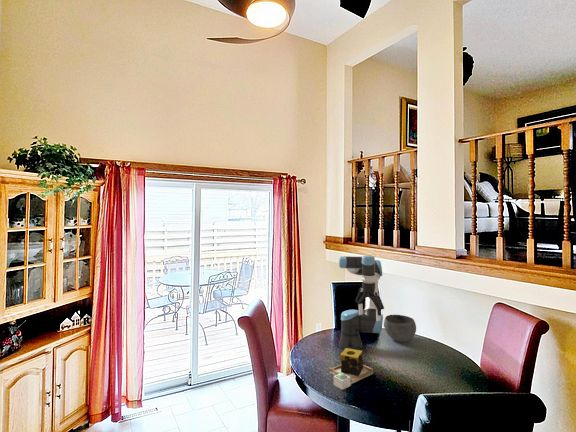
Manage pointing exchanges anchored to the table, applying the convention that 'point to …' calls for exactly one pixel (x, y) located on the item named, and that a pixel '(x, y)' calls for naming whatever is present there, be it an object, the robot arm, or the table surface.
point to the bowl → (400, 327)
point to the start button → (341, 376)
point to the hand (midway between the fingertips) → (369, 317)
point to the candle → (351, 361)
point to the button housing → (342, 382)
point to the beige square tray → (353, 378)
